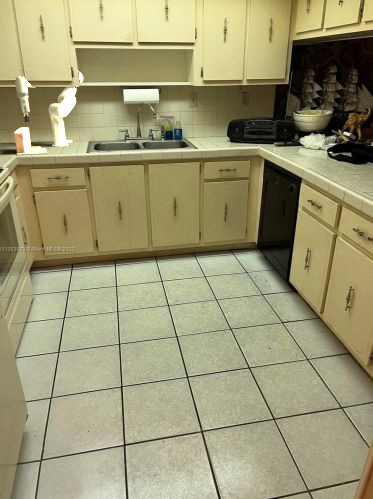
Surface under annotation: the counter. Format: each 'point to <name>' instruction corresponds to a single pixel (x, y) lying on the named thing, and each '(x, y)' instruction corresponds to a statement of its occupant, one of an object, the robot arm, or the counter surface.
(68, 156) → the counter surface
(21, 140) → the cracker box
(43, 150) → the mat
